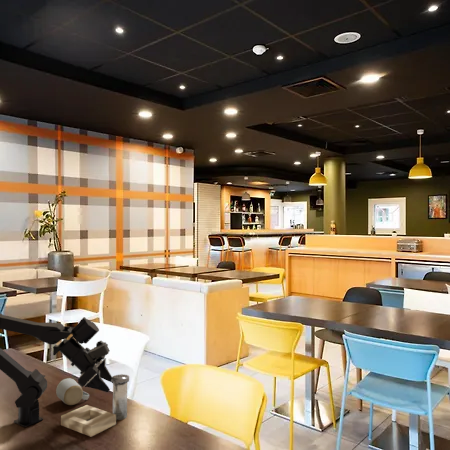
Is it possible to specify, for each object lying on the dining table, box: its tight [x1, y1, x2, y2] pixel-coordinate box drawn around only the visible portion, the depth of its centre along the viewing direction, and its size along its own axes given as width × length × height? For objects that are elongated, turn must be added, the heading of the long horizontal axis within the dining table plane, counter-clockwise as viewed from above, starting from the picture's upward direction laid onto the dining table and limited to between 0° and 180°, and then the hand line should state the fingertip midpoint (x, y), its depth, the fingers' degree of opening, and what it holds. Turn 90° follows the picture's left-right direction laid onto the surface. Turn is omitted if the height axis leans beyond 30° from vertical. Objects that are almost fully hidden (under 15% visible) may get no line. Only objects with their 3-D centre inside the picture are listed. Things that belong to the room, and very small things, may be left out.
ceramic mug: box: [55, 377, 90, 406], centre depth 152 cm, size 11×8×8 cm
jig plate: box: [60, 404, 117, 438], centre depth 134 cm, size 14×10×3 cm
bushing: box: [110, 373, 130, 421], centre depth 140 cm, size 6×6×13 cm
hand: (110, 385), depth 139 cm, fingers open, 9 cm apart
